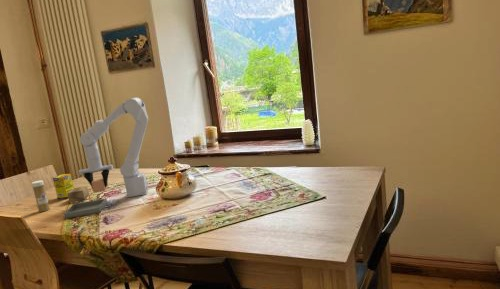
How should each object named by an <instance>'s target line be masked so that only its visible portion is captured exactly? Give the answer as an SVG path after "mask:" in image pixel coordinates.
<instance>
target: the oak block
mask: <svg viewBox="0 0 500 289" xmlns="http://www.w3.org/2000/svg"><path fill="white" fill-rule="evenodd" d="M67 194H68V199H67V200H68V202H69V203H70V204H71V202H72V203H76V202H75V201H78V202H83V201H82V200H84V201H86V200H87V199H88V198H89V197H90V193H89V188H88V186H87V185H86V186H81V187H74V188H73V189H71V190H70V191H69V192H68V193H67ZM88 196H89V197H88ZM87 197H88V198H87Z"/></svg>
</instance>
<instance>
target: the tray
mask: <svg viewBox="0 0 500 289" xmlns="http://www.w3.org/2000/svg"><path fill="white" fill-rule="evenodd" d="M107 204H108V200H107V198H101V199H96V200H95V199H94V200H90V201H84V202H83V201H82V202H78V203H77V202H76V203H72V205H71V206H70V207H69V208H68V209H67V210H66V211H65V212H64V213H63V216H64V220H67V219H73V218H77V217H78V216H79V217H84V216H89V215H88V214H90V215H96V214H100V213H101V212H102V211H103V210H104V208H105V207H106V206H107ZM83 215H84V216H83ZM72 217H73V218H72ZM79 217H78V218H79Z"/></svg>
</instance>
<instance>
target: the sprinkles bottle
mask: <svg viewBox="0 0 500 289" xmlns="http://www.w3.org/2000/svg"><path fill="white" fill-rule="evenodd" d="M44 184H45V183H44V180H35V181H33V182H31V187H32V190H33V192H34V193H33V194H34V195H33V196H34V198H35V202H36V205H37V208H38V213H39V212H40V213H41V212H42V213H43V212H47V211H49V210H50V209H51V207H50V205H49V201H48V197H47V192H46V189H45V185H44Z"/></svg>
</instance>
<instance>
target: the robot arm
mask: <svg viewBox="0 0 500 289" xmlns="http://www.w3.org/2000/svg"><path fill="white" fill-rule="evenodd" d="M124 114H129V115H131V116H132V117H133V119H134V120H135V124H134V128H133V129H134V130H133V132H132V136H131V139H130V144H129V147H128V152H127V155H126V157H125V159H124V162H123V164H122V165H121V166H120V170H119V172H120V173H121V175H122V178H123V182H124V187H125V191H126V194H125V196H124V198H125V199H126V198H131V197H133V198H134V197H138V196H139V197H140V196H142V195H143V196H144V195H147V193H148V191H149V187H148V183H147V182H148V181H147V177H146V174H145V173H140V171H139V168H140V163H139V159H140V152H141V149H142V145H143V142H144V139H145V136H146V131H147V130H146V129H147V126H148V123H149V115H148V113H147V109H146V104H145V103H144V101H143V100H142V99H141V98H140V97H136V96H135V97H134V96H133V97H131V98H127V99H126V100H125V101H124V102H122V103H121V104H119V105H118V106H117V107H116V108H115V109H114V110H113V111H111V112H110V114H109V115H107V117H106V118H105V117H104V119H99V120H96V121H95V122H93V123H94V124H93V125H92V126H91V127H89V128H87V129H86V132H84V133H83V132H82V134H81V135H80V136H79V141H80V144H82V146H83V149H84V154H85V158H86V162H87V166H88V167H87V168H84V169H79V170H78V174H79V176H82V175H83V177H84V179H85V180H87V182H88V184H89V185H90V187H91V189H92V190H93V188H92V183H91V182H92V181H93V180H94V174H93V173H98V172H100V174H101V178H103V180H104V185H105V187H108V185H109V184H108V180H109V179H108V178H109V174H110V171H111V170H114V165H113V164H108V165H107V164H105V165H102V164H103V163H102V160H101V154H100V151H99V147H98V139H100V138H101V137H102V136H103V135H104V134H106V133H107V132H108V131H109V130H110V126H111V124H113V123H114V122H115V121H116V120H117V119H118V118H120V117H121V116H122V115H124Z"/></svg>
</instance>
